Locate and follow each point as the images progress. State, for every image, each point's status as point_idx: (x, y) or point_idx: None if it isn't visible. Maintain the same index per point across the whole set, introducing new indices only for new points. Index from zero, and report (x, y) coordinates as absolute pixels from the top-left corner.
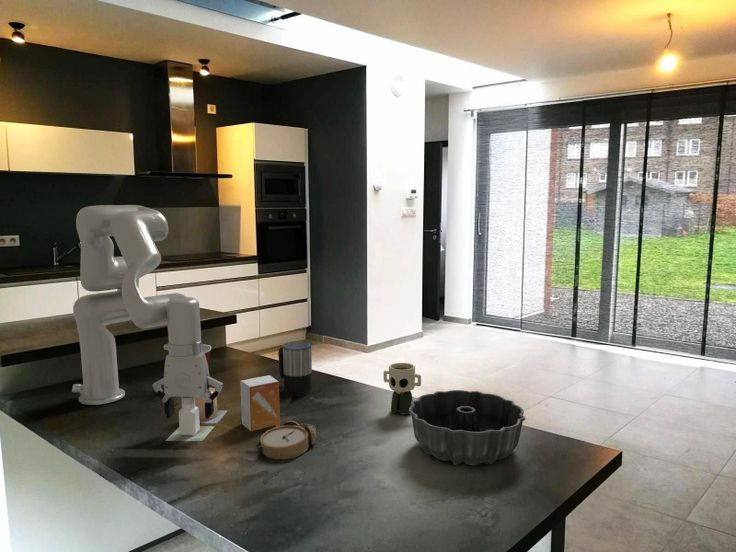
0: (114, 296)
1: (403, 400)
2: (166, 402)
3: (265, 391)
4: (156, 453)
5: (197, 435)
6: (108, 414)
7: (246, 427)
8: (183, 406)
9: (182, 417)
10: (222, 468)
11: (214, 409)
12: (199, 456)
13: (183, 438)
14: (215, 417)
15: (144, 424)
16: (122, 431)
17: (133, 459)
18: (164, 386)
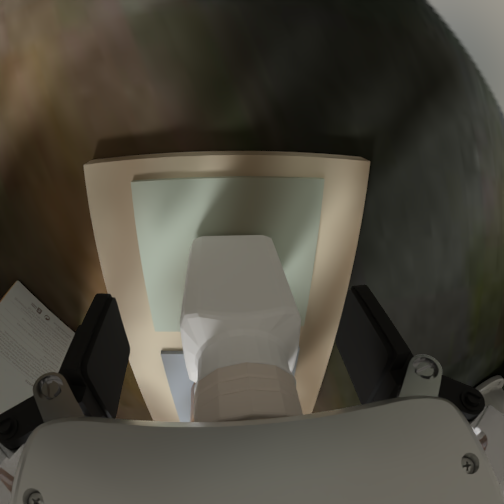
0: None
1: None
2: (405, 360)
3: None
4: (332, 103)
5: (184, 244)
6: (477, 358)
7: (38, 319)
8: (269, 355)
9: (263, 287)
10: (10, 20)
11: (191, 412)
12: (115, 81)
13: (241, 206)
14: (191, 388)
15: (416, 337)
16: (464, 289)
17: (401, 59)
18: (486, 459)
